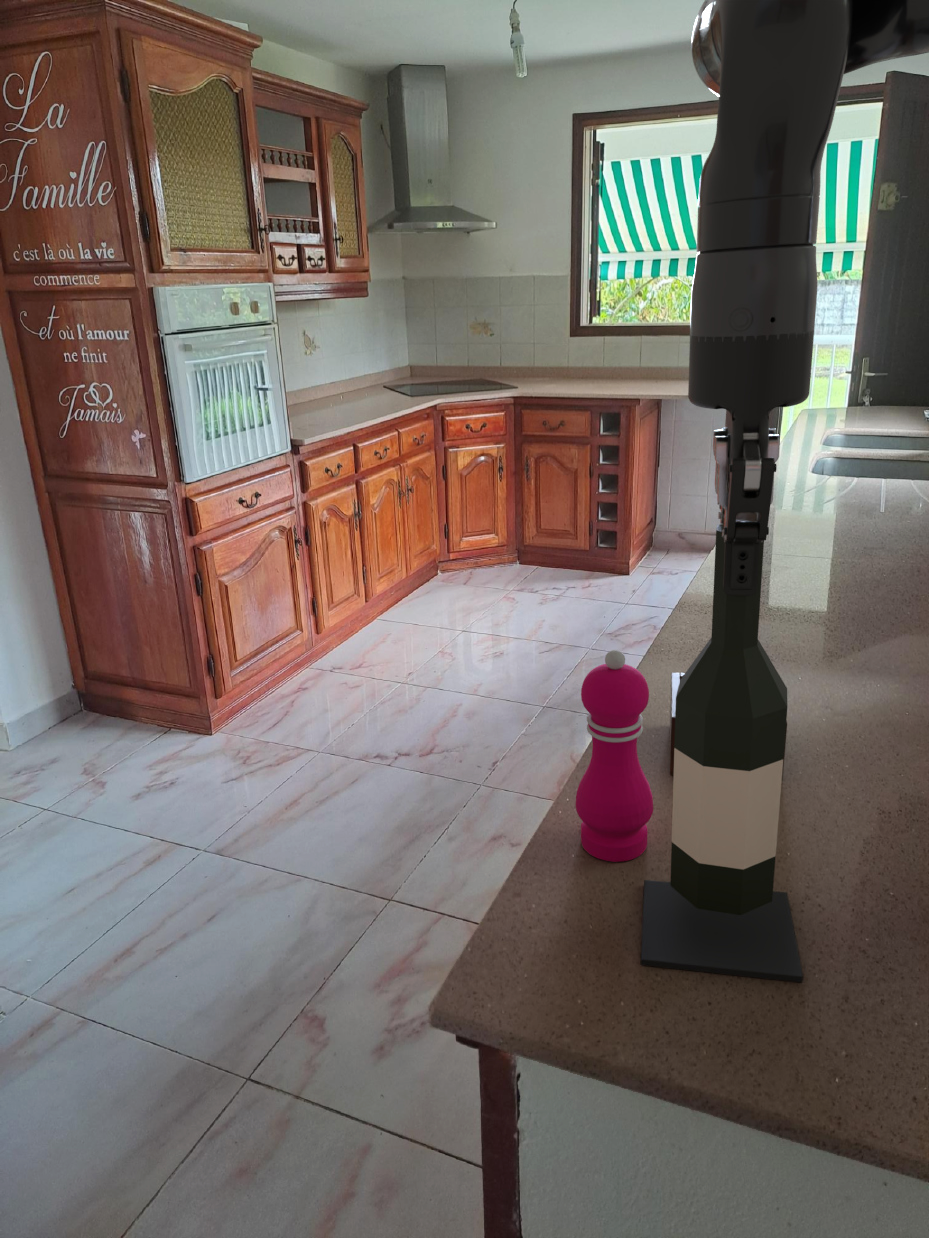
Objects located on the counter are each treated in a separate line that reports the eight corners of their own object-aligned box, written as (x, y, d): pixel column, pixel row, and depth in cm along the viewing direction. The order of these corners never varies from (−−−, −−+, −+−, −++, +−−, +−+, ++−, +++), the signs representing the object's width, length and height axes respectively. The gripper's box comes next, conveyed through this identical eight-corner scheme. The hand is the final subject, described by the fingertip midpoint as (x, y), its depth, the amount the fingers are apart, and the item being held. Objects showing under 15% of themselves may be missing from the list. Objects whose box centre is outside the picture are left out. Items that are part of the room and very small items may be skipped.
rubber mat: (786, 897, 75) (787, 892, 75) (802, 982, 66) (803, 976, 66) (644, 885, 78) (644, 879, 78) (640, 965, 69) (640, 959, 69)
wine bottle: (752, 845, 75) (776, 498, 64) (794, 910, 67) (828, 527, 56) (656, 854, 74) (663, 506, 64) (686, 920, 66) (700, 536, 56)
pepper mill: (641, 873, 80) (645, 671, 73) (565, 856, 83) (562, 661, 76) (660, 829, 86) (665, 640, 79) (588, 815, 89) (587, 631, 82)
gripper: (833, 330, 48) (808, 622, 54) (798, 319, 61) (782, 556, 67) (692, 337, 50) (684, 619, 56) (688, 324, 63) (681, 555, 69)
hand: (737, 583), depth 62 cm, fingers closed on wine bottle, 3 cm apart
